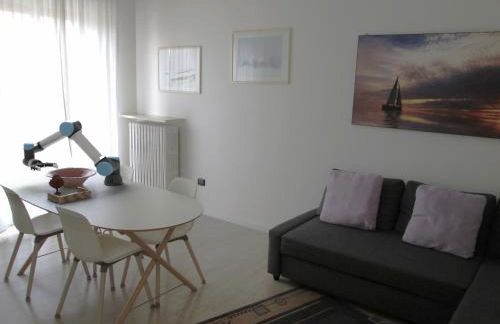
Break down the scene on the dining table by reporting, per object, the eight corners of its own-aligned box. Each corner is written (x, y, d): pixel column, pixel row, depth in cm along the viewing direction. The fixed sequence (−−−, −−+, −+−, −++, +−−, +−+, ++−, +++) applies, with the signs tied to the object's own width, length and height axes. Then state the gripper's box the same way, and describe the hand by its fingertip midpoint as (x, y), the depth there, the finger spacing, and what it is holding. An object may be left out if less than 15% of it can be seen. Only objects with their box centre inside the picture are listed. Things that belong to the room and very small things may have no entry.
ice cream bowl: (46, 194, 308) (44, 175, 305) (59, 191, 317) (57, 172, 315) (55, 196, 303) (54, 176, 300) (68, 193, 313) (67, 174, 310)
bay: (78, 192, 314) (78, 186, 313) (91, 197, 304) (90, 190, 303) (47, 199, 295) (47, 192, 294) (59, 204, 285) (59, 197, 284)
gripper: (51, 166, 335) (65, 170, 323) (19, 170, 316) (32, 175, 303) (50, 157, 334) (64, 161, 321) (18, 161, 314) (32, 165, 302)
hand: (49, 168), depth 312 cm, fingers open, 13 cm apart
